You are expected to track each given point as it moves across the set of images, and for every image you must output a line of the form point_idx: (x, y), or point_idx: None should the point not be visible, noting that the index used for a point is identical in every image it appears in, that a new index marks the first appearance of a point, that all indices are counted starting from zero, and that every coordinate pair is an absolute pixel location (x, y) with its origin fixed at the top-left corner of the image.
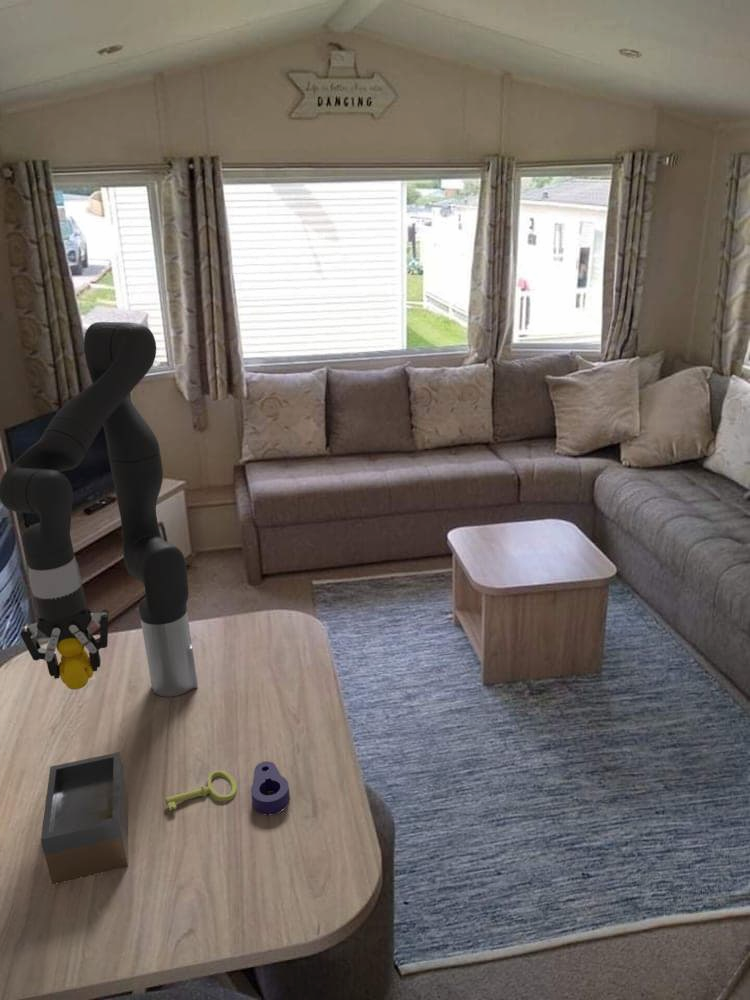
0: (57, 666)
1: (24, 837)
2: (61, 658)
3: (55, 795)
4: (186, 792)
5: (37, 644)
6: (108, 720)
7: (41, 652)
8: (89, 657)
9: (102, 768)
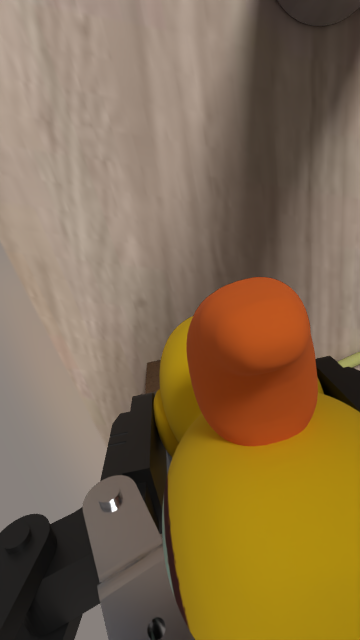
0: (159, 452)
1: (110, 409)
2: (178, 441)
3: (170, 456)
4: (348, 362)
5: (12, 630)
6: (172, 110)
7: (81, 612)
8: (323, 393)
9: None
